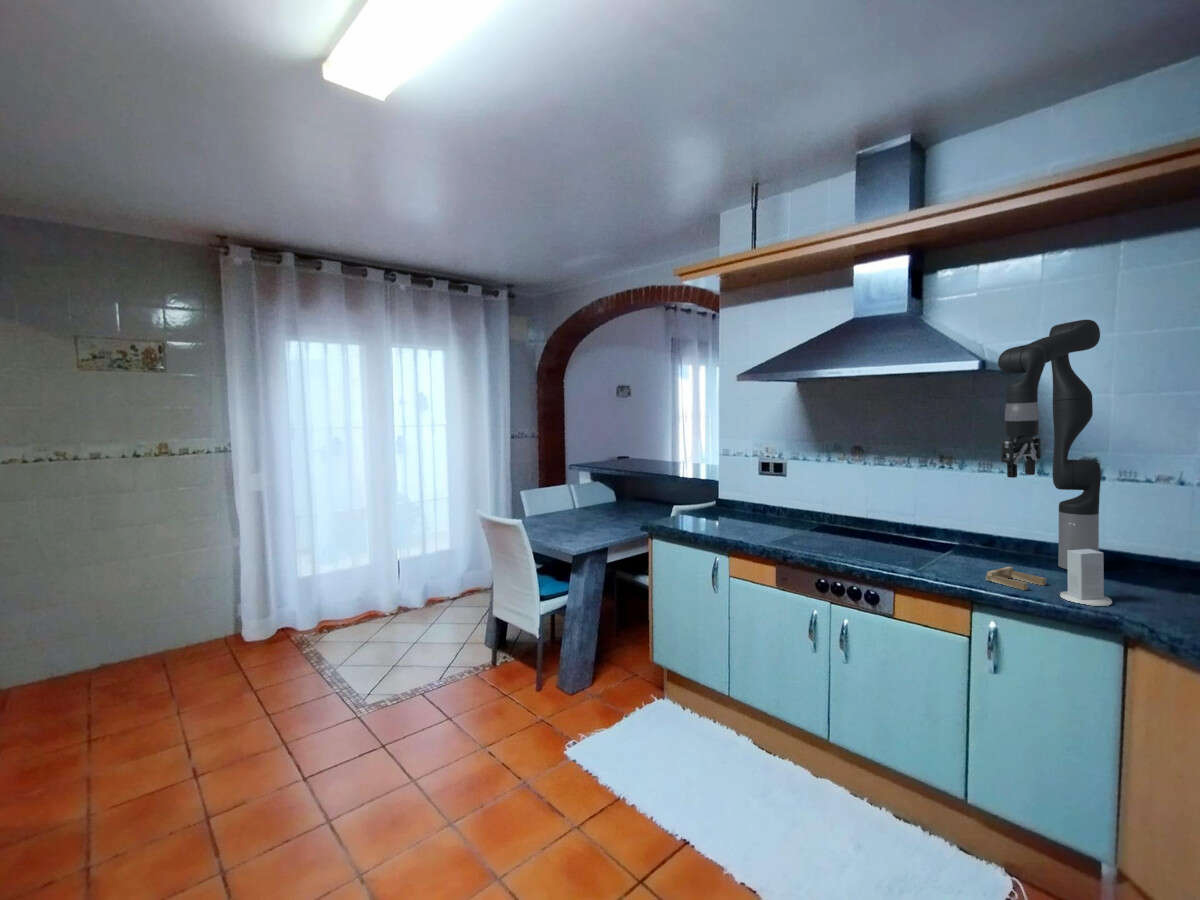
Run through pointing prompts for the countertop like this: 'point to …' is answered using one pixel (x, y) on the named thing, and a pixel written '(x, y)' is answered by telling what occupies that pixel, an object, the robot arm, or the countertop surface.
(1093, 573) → the skincare box
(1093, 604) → the coaster
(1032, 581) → the rack
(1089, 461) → the robot arm
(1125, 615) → the countertop surface
